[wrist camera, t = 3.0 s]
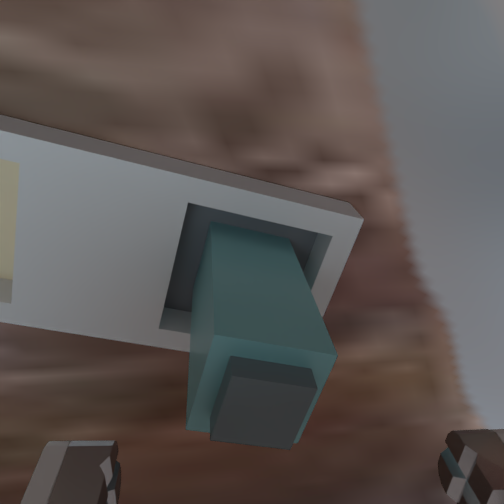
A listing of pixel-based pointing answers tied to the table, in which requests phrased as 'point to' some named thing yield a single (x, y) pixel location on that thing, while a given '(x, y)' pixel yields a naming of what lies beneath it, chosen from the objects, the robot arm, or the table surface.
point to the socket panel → (136, 234)
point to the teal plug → (254, 341)
